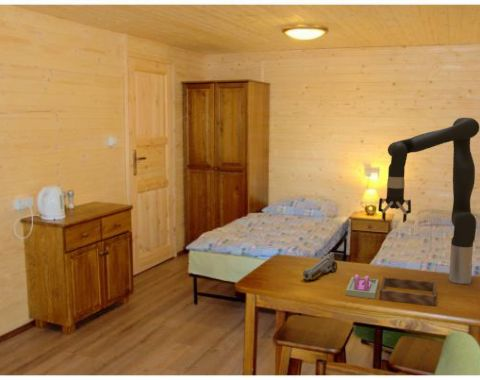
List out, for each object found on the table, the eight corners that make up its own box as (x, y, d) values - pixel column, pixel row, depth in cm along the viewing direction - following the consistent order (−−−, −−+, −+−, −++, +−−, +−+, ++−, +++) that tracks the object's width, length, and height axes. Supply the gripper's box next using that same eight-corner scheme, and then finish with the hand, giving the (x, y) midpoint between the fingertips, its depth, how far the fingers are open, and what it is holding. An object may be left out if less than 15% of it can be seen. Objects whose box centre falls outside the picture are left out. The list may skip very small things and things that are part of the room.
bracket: (367, 293, 220) (367, 277, 219) (354, 291, 222) (354, 275, 221) (372, 284, 232) (373, 269, 231) (360, 282, 234) (360, 267, 233)
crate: (434, 291, 226) (435, 282, 225) (435, 306, 208) (436, 296, 208) (383, 285, 233) (383, 276, 233) (379, 299, 215) (380, 290, 215)
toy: (338, 270, 254) (337, 251, 251) (312, 291, 238) (310, 271, 235) (328, 268, 258) (327, 249, 255) (302, 288, 241) (300, 269, 238)
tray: (378, 284, 234) (378, 279, 233) (374, 298, 216) (374, 293, 216) (351, 281, 238) (352, 276, 237) (345, 295, 220) (346, 289, 220)
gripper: (412, 186, 235) (410, 221, 237) (380, 184, 239) (378, 218, 242) (412, 188, 228) (410, 224, 230) (378, 186, 232) (377, 221, 235)
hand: (394, 221), depth 236 cm, fingers open, 8 cm apart
